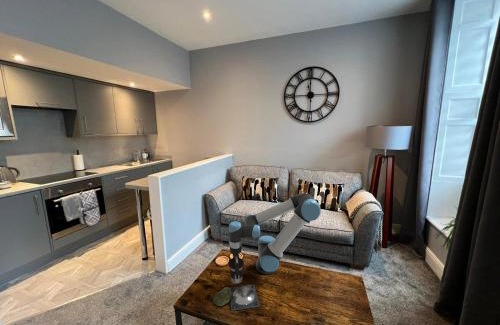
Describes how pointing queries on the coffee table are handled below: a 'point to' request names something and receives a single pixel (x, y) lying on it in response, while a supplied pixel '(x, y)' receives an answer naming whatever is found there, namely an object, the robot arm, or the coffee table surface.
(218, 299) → the seashell
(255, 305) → the duct flange
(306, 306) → the coffee table surface
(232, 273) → the coffee cup
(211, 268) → the coffee table surface
